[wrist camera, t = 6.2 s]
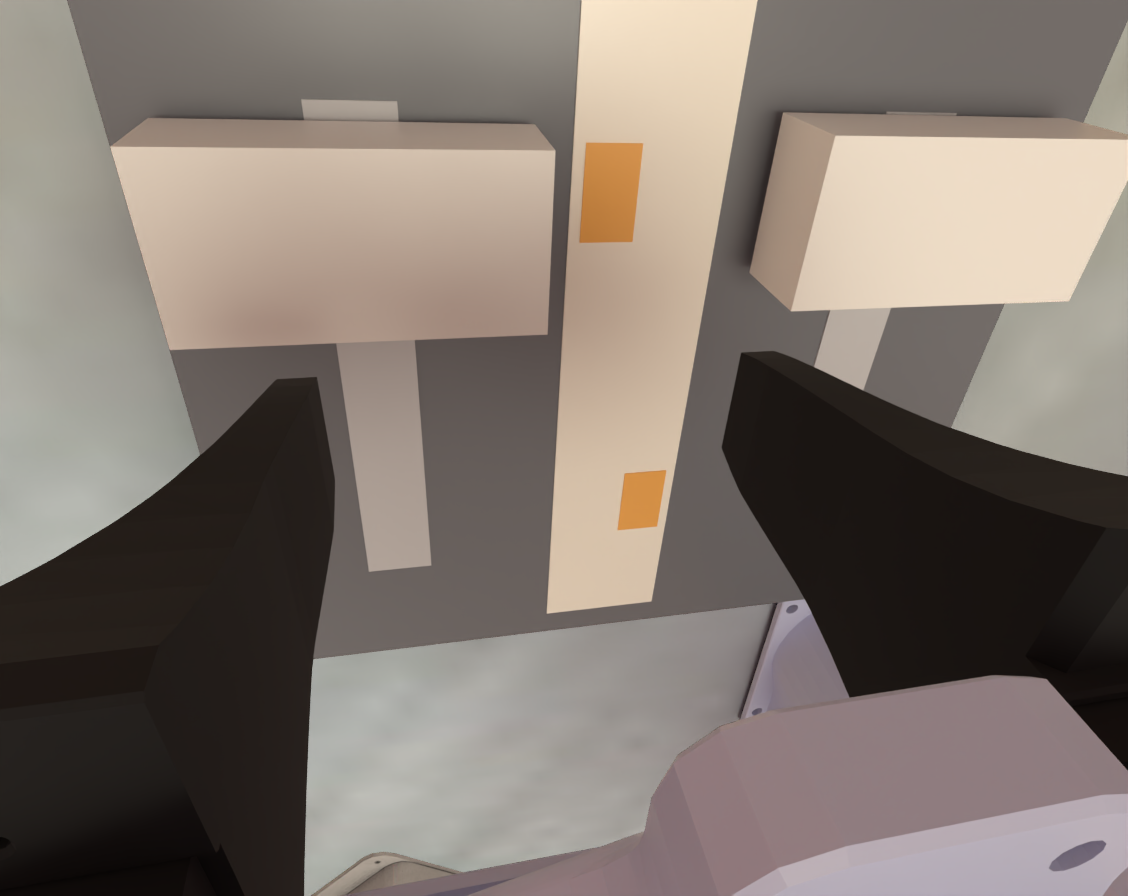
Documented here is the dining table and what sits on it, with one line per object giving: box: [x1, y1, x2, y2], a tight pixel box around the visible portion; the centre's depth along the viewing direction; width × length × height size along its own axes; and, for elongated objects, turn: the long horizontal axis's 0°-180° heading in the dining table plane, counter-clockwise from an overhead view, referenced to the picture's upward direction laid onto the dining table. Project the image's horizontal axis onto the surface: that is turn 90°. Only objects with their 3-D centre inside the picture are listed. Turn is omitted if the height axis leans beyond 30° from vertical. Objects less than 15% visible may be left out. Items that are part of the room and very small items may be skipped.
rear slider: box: [749, 112, 1128, 311], centre depth 18 cm, size 4×8×2 cm, turn 87°
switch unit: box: [67, 0, 1128, 659], centre depth 21 cm, size 24×24×1 cm
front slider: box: [110, 118, 555, 350], centre depth 16 cm, size 4×8×2 cm, turn 87°
